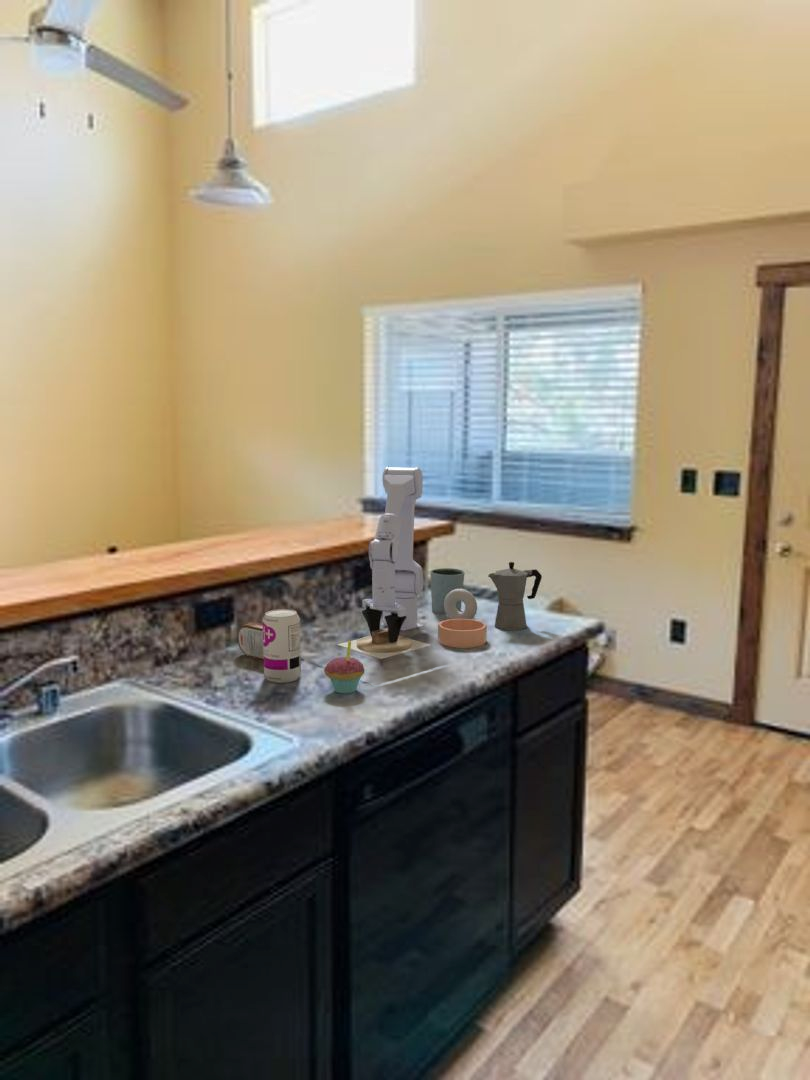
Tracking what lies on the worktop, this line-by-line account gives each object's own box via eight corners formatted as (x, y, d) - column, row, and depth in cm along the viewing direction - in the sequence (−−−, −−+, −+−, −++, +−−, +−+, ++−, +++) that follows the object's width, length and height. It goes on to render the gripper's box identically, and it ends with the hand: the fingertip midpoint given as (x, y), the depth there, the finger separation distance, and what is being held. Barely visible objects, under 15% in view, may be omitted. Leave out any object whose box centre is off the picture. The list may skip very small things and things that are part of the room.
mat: (336, 646, 217) (336, 644, 217) (387, 634, 229) (387, 632, 229) (381, 661, 205) (381, 658, 205) (431, 647, 216) (431, 645, 216)
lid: (345, 644, 217) (345, 630, 217) (386, 634, 227) (386, 620, 226) (381, 656, 207) (381, 640, 206) (423, 645, 216) (423, 630, 216)
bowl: (429, 643, 221) (429, 624, 220) (461, 634, 229) (461, 616, 228) (463, 653, 212) (463, 633, 211) (495, 643, 220) (495, 624, 219)
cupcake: (372, 689, 185) (372, 635, 183) (343, 699, 178) (343, 643, 176) (345, 681, 190) (344, 628, 188) (316, 690, 184) (315, 636, 182)
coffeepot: (493, 631, 231) (494, 566, 228) (482, 623, 240) (483, 560, 237) (547, 628, 234) (548, 563, 232) (534, 620, 243) (535, 557, 241)
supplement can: (271, 686, 187) (269, 619, 185) (259, 675, 194) (257, 611, 192) (306, 680, 191) (304, 614, 188) (293, 670, 198) (291, 607, 196)
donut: (479, 624, 239) (479, 589, 237) (474, 627, 236) (474, 591, 234) (447, 620, 244) (447, 585, 242) (441, 622, 241) (441, 588, 239)
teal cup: (431, 606, 260) (431, 567, 258) (464, 607, 259) (465, 568, 257) (429, 614, 250) (429, 574, 248) (463, 615, 249) (464, 574, 247)
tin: (289, 662, 204) (288, 628, 203) (279, 665, 202) (278, 631, 201) (245, 652, 213) (243, 619, 212) (235, 655, 211) (234, 621, 209)
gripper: (352, 584, 217) (353, 636, 219) (391, 593, 206) (391, 648, 209) (374, 580, 222) (374, 631, 224) (412, 589, 211) (412, 642, 213)
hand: (384, 639), depth 217 cm, fingers open, 6 cm apart
